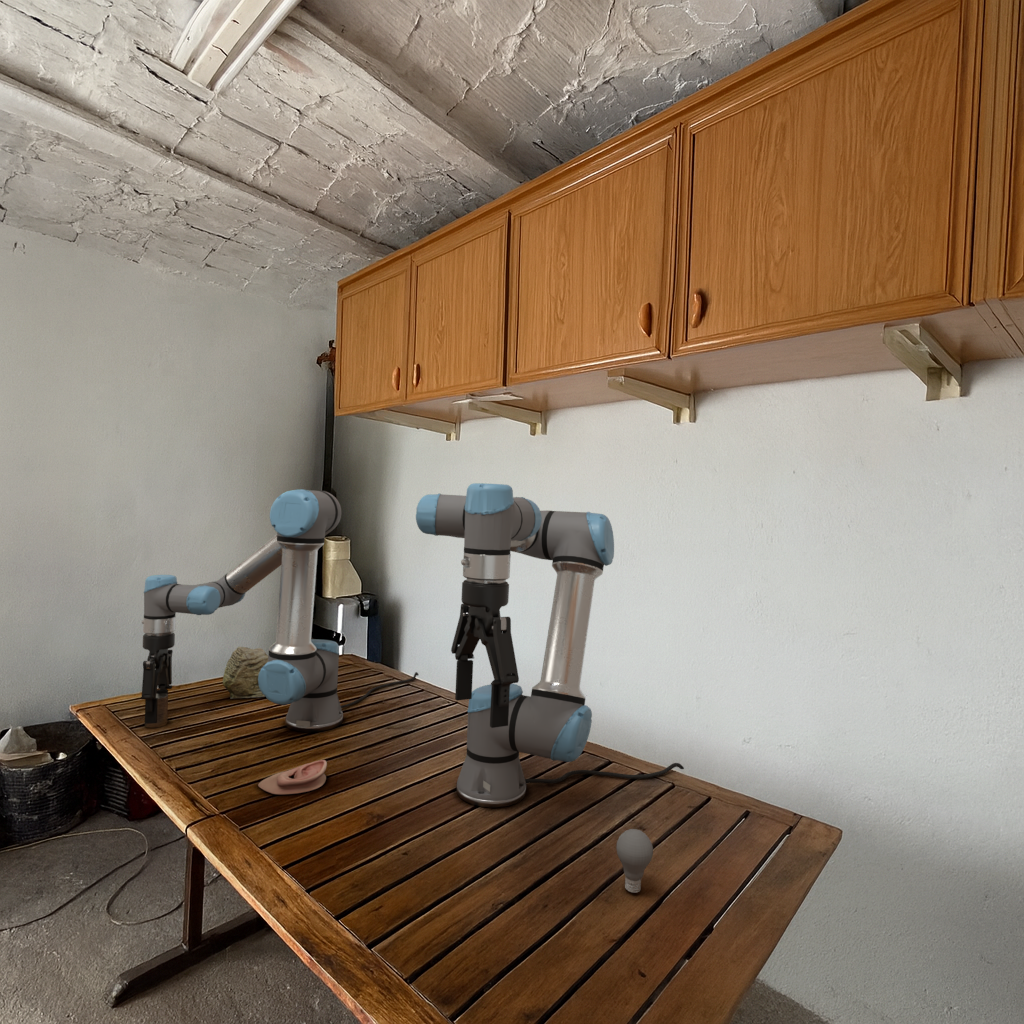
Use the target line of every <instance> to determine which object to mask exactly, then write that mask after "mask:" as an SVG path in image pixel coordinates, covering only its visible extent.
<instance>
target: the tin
mask: <svg viewBox="0 0 1024 1024" xmlns="http://www.w3.org/2000/svg"><path fill="white" fill-rule="evenodd" d="M156 698H158V702H157V723H145V722H144V727H145V728H149V729H155V728H160V727H164V726H166V725H167V724H168V714H169V713H168V712H169V693H168V694H166V693H157V694H156Z"/></svg>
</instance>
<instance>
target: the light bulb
mask: <svg viewBox="0 0 1024 1024" xmlns="http://www.w3.org/2000/svg"><path fill="white" fill-rule="evenodd" d="M615 849H616V854H617V857H618V859H619V861H620V863H621V865H622V867H623V873H624V874H623V875H624V876H625V878H624V888H625V890H627V891H628V892H630V893H634V894H635V893H639V892H640V891H641V889H642V887H641V886H642V879H643V877H644V875H645V871H646V868H647V867H648V866H649V864H650V863H651V861H652V859H653V855H654V847H653V843H652V841H651V838H649V836H648V835H647V834H646V833H645V832H643V831H642V830H641V829H636V828H629V829H627V830H625V831H623V832H622V833H621V834H620V835H619V837H618V839H617V841H616V847H615Z"/></svg>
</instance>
